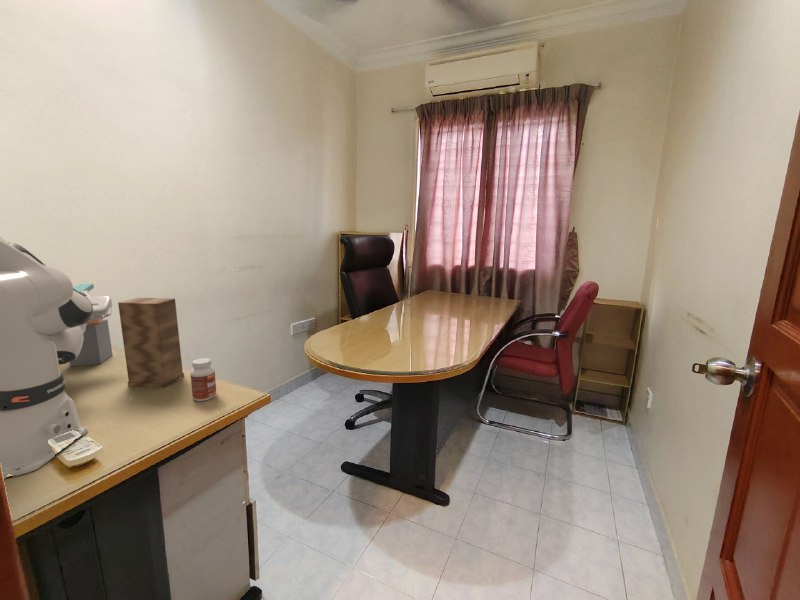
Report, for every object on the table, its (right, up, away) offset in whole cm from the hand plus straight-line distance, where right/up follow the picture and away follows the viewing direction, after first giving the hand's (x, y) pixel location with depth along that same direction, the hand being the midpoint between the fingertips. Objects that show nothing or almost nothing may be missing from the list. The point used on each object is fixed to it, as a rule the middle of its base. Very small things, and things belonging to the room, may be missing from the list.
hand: (75, 292), depth 124 cm
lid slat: (-3, 0, +6) cm, 7 cm away
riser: (-3, -24, +11) cm, 27 cm away
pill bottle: (+51, -31, -16) cm, 62 cm away
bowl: (-3, -11, +8) cm, 14 cm away
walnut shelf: (+31, -28, -5) cm, 42 cm away
